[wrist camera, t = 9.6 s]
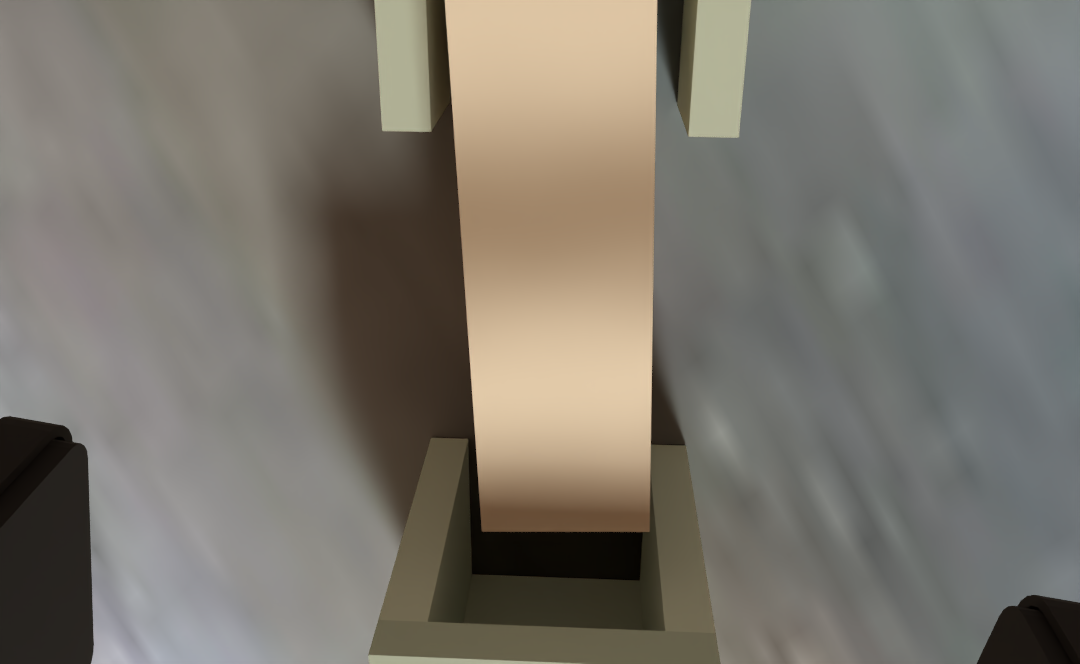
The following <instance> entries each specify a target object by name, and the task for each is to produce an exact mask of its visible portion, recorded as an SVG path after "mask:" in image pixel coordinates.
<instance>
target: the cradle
mask: <svg viewBox="0 0 1080 664" xmlns="http://www.w3.org/2000/svg"><path fill="white" fill-rule="evenodd" d="M374 3H375V19H376V36H377V53H378V69H379V86H380V103H381V119H382V131H410V132H431V131H432V130H433V128H434V126H435V125H436V123H437V122H438V120H439V118H440V117H441V115H442V114H443V112H444V110H445V109H446V107H447V106H448V104H449V102H450V73H449V54H448V39H447V25H446V11H445V0H374ZM750 6H751V0H684V7H683V23H682V39H681V54H680V70H679V86H678V101H677V106H678V108H679V111H680V114H681V117H682V120H683V123H684V125H685V128H686V131H687V134H688V137H737V138H739V128H740V116H741V105H742V94H743V83H744V72H745V61H746V50H747V39H748V28H749V17H750Z"/></svg>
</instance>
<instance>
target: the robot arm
mask: <svg viewBox="0 0 1080 664" xmlns="http://www.w3.org/2000/svg"><path fill="white" fill-rule="evenodd" d="M93 646H94V642H93V610H92V577H91V545H90V512H89V480H88V456H87V450H86V448H85V446H84V445H82V444H80V443H74V442H73V441H72V435H71V433H70V431H69V429H68V428H66V427H65V426H63V425H57V424H51V423H45V422H40V421H34V420H28V419H22V418H17V417H11V416H9V417H3V418H1V419H0V664H91V661H92V656H93ZM977 664H1080V603H1078V602H1072V601H1067V600H1061V599H1055V598H1049V597H1044V596H1038V595H1031V596H1027V597H1025V598H1024V599H1023V600H1021V602H1020V603H1019V605H1018V606H1008V607H1007V608H1006V609H1004V610H1003V611H1002V613H1001V615H1000V616H999V618H998V620H997V622H996V624H995V626H994V628H993V631H992V633H991V635H990V637H989V639H988V641H987V643H986V645H985V647H984V649H983V652H982V654H981V656H980V658H979V660H978V662H977Z"/></svg>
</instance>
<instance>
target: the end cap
mask: <svg viewBox="0 0 1080 664" xmlns="http://www.w3.org/2000/svg"><path fill="white" fill-rule="evenodd" d="M368 656H369V664H720V658H719V652H718V645H717V639H716V633H715V626H714V620H713V614H712V607H711V601H710V595H709V588H708V582H707V576H706V570H705V563H704V557H703V551H702V544H701V538H700V532H699V525H698V519H697V513H696V506H695V500H694V494H693V488H692V481H691V475H690V469H689V462H688V456H687V450H686V446H680V445H651V464H650V532H643V537H642V553H641V570H640V581H636V580H609V579H582V578H555V577H528V576H501V575H474V574H472V561H471V524H470V487H469V450H468V439H457V438H431V440H430V443H429V447H428V450H427V454H426V457H425V460H424V464H423V467H422V471H421V474H420V478H419V481H418V485H417V488H416V492H415V495H414V499H413V502H412V505H411V509H410V512H409V516H408V519H407V523H406V526H405V530H404V533H403V537H402V540H401V544H400V547H399V551H398V554H397V557H396V561H395V564H394V568H393V571H392V575H391V578H390V582H389V585H388V589H387V592H386V596H385V599H384V603H383V606H382V609H381V613H380V616H379V620H378V623H377V627H376V630H375V634H374V637H373V641H372V644H371V648H370V651H369V655H368Z"/></svg>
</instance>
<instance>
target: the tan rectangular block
mask: <svg viewBox="0 0 1080 664" xmlns="http://www.w3.org/2000/svg"><path fill="white" fill-rule="evenodd" d="M445 11H446V25H447V39H448V54H449V68H450V82H451V97H452V111H453V125H454V140H455V154H456V168H457V183H458V197H459V211H460V226H461V240H462V254H463V269H464V283H465V297H466V312H467V326H468V340H469V354H470V369H471V383H472V397H473V412H474V426H475V440H476V455H477V469H478V483H479V498H480V512H481V526H482V532H650V464H651V394H652V325H653V256H654V187H655V117H656V48H657V0H445Z"/></svg>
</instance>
